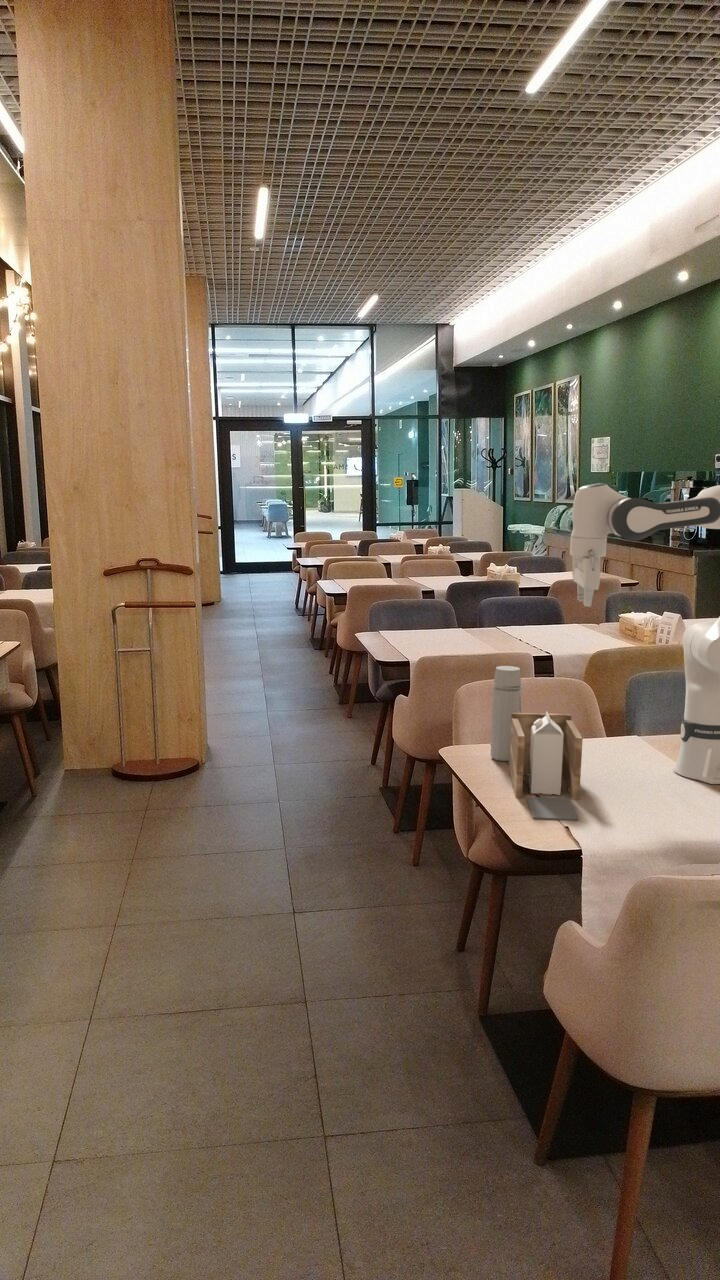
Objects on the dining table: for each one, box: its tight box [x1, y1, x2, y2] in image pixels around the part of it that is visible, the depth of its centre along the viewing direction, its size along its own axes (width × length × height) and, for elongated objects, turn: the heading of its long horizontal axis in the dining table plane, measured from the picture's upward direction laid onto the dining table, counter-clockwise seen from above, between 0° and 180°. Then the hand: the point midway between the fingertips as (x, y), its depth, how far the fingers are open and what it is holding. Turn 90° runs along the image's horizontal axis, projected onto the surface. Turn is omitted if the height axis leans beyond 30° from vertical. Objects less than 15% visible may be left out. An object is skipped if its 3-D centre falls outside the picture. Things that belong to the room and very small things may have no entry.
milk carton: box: [528, 711, 564, 796], centre depth 232 cm, size 7×7×19 cm
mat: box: [525, 796, 579, 821], centre depth 220 cm, size 10×14×1 cm
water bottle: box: [490, 665, 523, 762], centre depth 258 cm, size 9×8×25 cm
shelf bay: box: [508, 712, 583, 800], centre depth 235 cm, size 15×19×16 cm
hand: (584, 603), depth 242 cm, fingers open, 8 cm apart
